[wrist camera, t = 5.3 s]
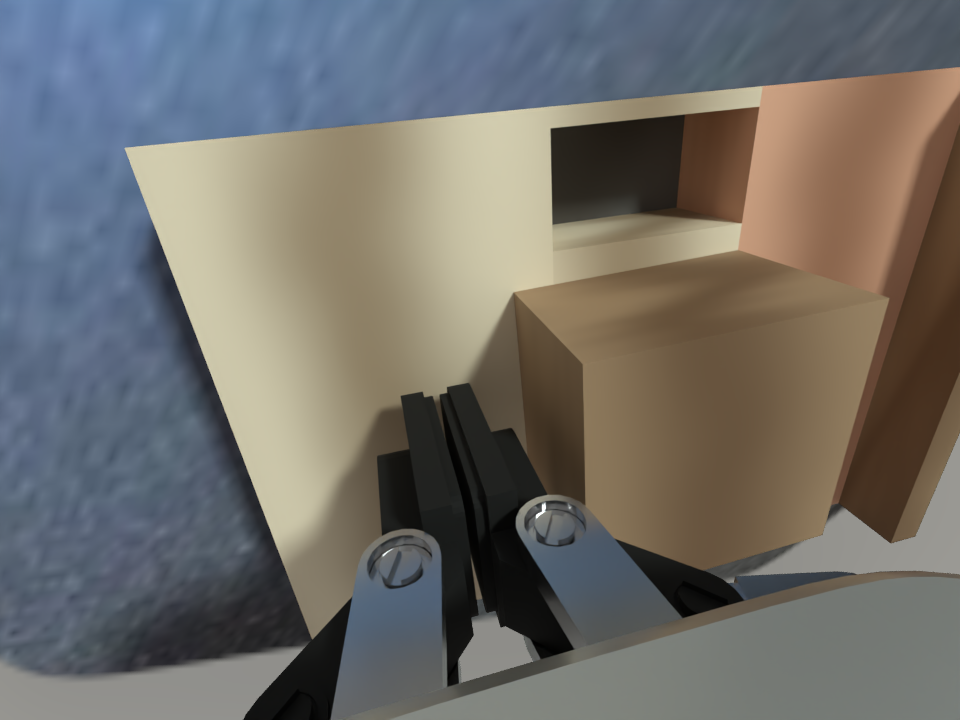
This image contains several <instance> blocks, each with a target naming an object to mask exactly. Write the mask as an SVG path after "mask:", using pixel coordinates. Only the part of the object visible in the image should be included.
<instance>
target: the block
mask: <svg viewBox="0 0 960 720" xmlns="http://www.w3.org/2000/svg"><path fill="white" fill-rule="evenodd" d="M513 293H514V304H515V316H516V327H517V339H518V351H519V362H520V374H521V385H522V397H523V408H524V420H525V432H526V443H527V455H528V458H529V460H530V462H531V464H532V466H533V468H534V470H535V471H536V473H537V475H538V477H539V479H540V481H541V483H542V485H543V487H544V489H545V490H546V492H547V494H548V495H562V496H567V497H571V498H573V499H575V500H577V501H579V502H581V503H582V504H583V505H585V506H586V507H587V508H588V509H589V510H590V511H591V512H592V513H593V515H594V516H595V517H596V518H597V519H598V520H599V522H600V523H601V524H602V525H603V526H604V527H605V529H606V530H607V531H608V532H609V533H610V534H611V535H612V537H613V538H614V539H617V540H620V541H623V542H625V543H628V544H631V545H634V546H636V547H639V548H642V549H645V550H648V551H650V552H653V553H656V554H659V555H661V556H664V557H667V558H670V559H672V560H675V561H678V562H681V563H683V564H686V565H689V566H692V567H694V568H697V569H700V570H706V569H709V568H712V567H716V566H719V565H723V564H726V563H729V562H733V561H736V560H739V559H743V558H746V557H750V556H753V555H756V554H760V553H763V552H766V551H770V550H773V549H777V548H780V547H783V546H787V545H790V544H793V543H797V542H800V541H804V540H807V539H810V538H814V537H817V536H820V535H822V534H823V531H824V527H825V524H826V520H827V517H828V513H829V510H830V506H831V503H832V499H833V496H834V492H835V489H836V485H837V481H838V478H839V474H840V471H841V467H842V464H843V460H844V457H845V453H846V450H847V446H848V443H849V439H850V436H851V432H852V429H853V425H854V422H855V418H856V414H857V411H858V407H859V404H860V400H861V397H862V393H863V390H864V386H865V383H866V379H867V376H868V372H869V369H870V365H871V362H872V358H873V355H874V351H875V347H876V344H877V340H878V337H879V333H880V330H881V326H882V323H883V319H884V316H885V312H886V309H887V305H888V302H889V298H888V297H885V296H882V295H879V294H875V293H872V292H869V291H866V290H863V289H860V288H856V287H853V286H850V285H847V284H844V283H841V282H837V281H834V280H831V279H828V278H825V277H822V276H819V275H815V274H812V273H809V272H806V271H803V270H800V269H796V268H793V267H790V266H787V265H784V264H781V263H777V262H774V261H771V260H768V259H765V258H762V257H759V256H755V255H752V254H749V253H746V252H743V251H740V250H736V251H730V252H725V253H720V254H714V255H709V256H704V257H698V258H693V259H688V260H682V261H677V262H672V263H666V264H661V265H656V266H650V267H645V268H640V269H634V270H629V271H624V272H618V273H613V274H608V275H602V276H597V277H592V278H586V279H581V280H576V281H570V282H565V283H560V284H554V285H549V286H544V287H538V288H533V289H528V290H522V291H517V292H513Z"/></svg>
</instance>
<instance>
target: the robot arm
mask: <svg viewBox="0 0 960 720" xmlns="http://www.w3.org/2000/svg"><path fill="white" fill-rule="evenodd" d="M400 397H401V403H402V408H403V414H404V420H405V426H406V432H407V438H408V444H409V449H407V450H402V451H397V452H392V453H387V454H383V455H378V456H377V469H378V484H379V499H380V515H381V530H382V536H381V537H379V538H378V539H376V540H375V541H374V542H373V543H371V544H370V545H369V546H368V547H367V549H366V550H365V551H364V553H363V554H362V556H361V559H360V561H359V564H358V568H357V574H356V579H355V585H354V591H353V596H352V597H351V598H350V599H349V600H348V602H347V603H346V604H345V605H344V606H343V607H342V608H341V609H340V610H339V611H338V612H337V613H336V615H335V616H334V617H333V618H332V619H331V620H330V621H329V622H328V623H327V624H326V625H325V626H324V628H323V629H322V630H321V631H320V632H319V633H318V634H317V635H316V636H315V637H314V638H313V640H312V641H311V642H310V643H309V644H308V645H307V646H306V647H305V648H304V649H303V650H302V651H301V653H300V654H299V655H298V656H297V657H296V658H295V659H294V660H293V661H292V662H291V663H290V665H289V666H288V667H287V668H286V669H285V670H284V671H283V672H282V673H281V674H280V675H279V676H278V678H277V679H276V680H275V681H274V682H273V683H272V684H271V685H270V686H269V687H268V688H267V690H265V692H264V693H263V694H262V695H261V696H260V697H259V698H258V699H257V701H256V702H255V703H254V705H253V706H252V707H251V709H250V710H249V711H248V712H247V714H246V715H245V718H244V720H960V575H959V574H949V573H935V572H923V571H890V572H875V573H867V574H859V575H857V574H854V573H847V572H817V573H795V574H774V575H752V576H735V580H734V583H727V582H725V581H724V580H723V579H721V578H719V577H717V576H715V575H713V574H711V573H708V572H706V571H703V570H700V569H697V568H694V567H692V566H689V565H686V564H683V563H681V562H678V561H675V560H672V559H670V558H667V557H664V556H661V555H659V554H656V553H653V552H650V551H648V550H645V549H642V548H639V547H636V546H634V545H631V544H628V543H625V542H623V541H620V540H617V539H614V538H613V537H612V535H611V534H610V533H609V532H608V531H607V530H606V529H605V527H604V526H603V525H602V524H601V523H600V522H599V520H598V519H597V518H596V517H595V516H594V515H593V513H592V512H591V511H590V510H589V509H588V508H587V507H586V506H585V505H583V504H582V503H581V502H579V501H577V500H575V499H573V498H571V497H567V496H562V495H548V494H547V492H546V490H545V489H544V487H543V485H542V483H541V481H540V479H539V477H538V475H537V473H536V471H535V470H534V468H533V466H532V464H531V462H530V460H529V458H528V456H527V454H526V452H525V451H524V449H523V447H522V445H521V443H520V441H519V439H518V437H517V435H516V433H515V432H514V430H513V429H512V428H507V429H502V430H498V431H493V432H491V430H490V428H489V425H488V423H487V421H486V419H485V417H484V414H483V412H482V410H481V408H480V405H479V403H478V401H477V399H476V397H475V394H474V392H473V390H472V388H471V385H470V384H469V383H465V384H460V385H454V386H449V387H447V393H444V394H439V397H440V404H441V411H442V418H443V425H444V432H445V437H444V433H443V430H442V426H441V423H440V419H439V416H438V412H437V409H436V405H435V402H434V399H433V396H428V397H424V394H423V392H417V393H412V394H407V395H402V396H400ZM445 439H446V440H445ZM471 558H472V562H473V566H474V570H475V573H476V577H477V581H478V584H479V588H480V592H481V595H482V599H483V603H484V607H485V610H486V612H487V613H489V612H492V611H496V613H497V617H498V620H499V623H500V627H504V626H506V627H508V628H510V629H512V630H514V631H516V632H518V633H520V634H522V635H524V641H525V644H526V647H527V650H528V652H529V654H530V656H531V658H532V660H533V662H531V663H527V664H524V665H521V666H517V667H514V668H510V669H507V670H504V671H500V672H497V673H493V674H490V675H487V676H483V677H480V678H476V679H473V680H470V681H466V682H463V683H461V667H460V661H459V657H460V656H461V654H462V653H463V651H464V650H465V648H466V647H467V645H468V643H469V642H470V640H471V639H472V637H473V635H474V634H473V628H472V621H471V617H474V616H478V615H479V614H478V606H477V599H476V591H475V584H474V576H473V569H472V562H471Z"/></svg>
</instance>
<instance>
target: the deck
mask: <svg viewBox="0 0 960 720" xmlns="http://www.w3.org/2000/svg"><path fill="white" fill-rule="evenodd" d="M125 150H126V153H127V156H128V158H129V161H130V163H131V166H132V169H133V171H134V174H135V177H136V179H137V182H138V184H139V187H140V190H141V192H142V195H143V198H144V200H145V203H146V205H147V208H148V211H149V213H150V216H151V218H152V221H153V224H154V226H155V229H156V232H157V234H158V237H159V239H160V242H161V245H162V247H163V250H164V253H165V255H166V258H167V260H168V263H169V266H170V268H171V271H172V274H173V276H174V279H175V281H176V284H177V287H178V289H179V292H180V295H181V297H182V300H183V302H184V305H185V308H186V310H187V313H188V315H189V318H190V321H191V323H192V326H193V329H194V331H195V334H196V336H197V339H198V342H199V344H200V347H201V350H202V352H203V355H204V357H205V360H206V363H207V365H208V368H209V371H210V373H211V376H212V378H213V381H214V384H215V386H216V389H217V391H218V394H219V397H220V399H221V402H222V405H223V407H224V410H225V412H226V415H227V418H228V420H229V423H230V426H231V428H232V431H233V433H234V436H235V439H236V441H237V444H238V447H239V449H240V452H241V454H242V457H243V460H244V462H245V465H246V467H247V470H248V473H249V475H250V478H251V481H252V483H253V486H254V488H255V491H256V494H257V496H258V499H259V502H260V504H261V507H262V509H263V512H264V515H265V517H266V520H267V523H268V525H269V528H270V530H271V533H272V536H273V538H274V541H275V544H276V546H277V549H278V551H279V554H280V557H281V559H282V562H283V564H284V567H285V570H286V572H287V575H288V578H289V580H290V583H291V585H292V588H293V591H294V593H295V596H296V599H297V601H298V604H299V606H300V609H301V612H302V614H303V617H304V620H305V622H306V625H307V627H308V630H309V633H310V635H311V638H312V640H313V638H314V637H315V636H316V635H317V634H318V633H319V632H320V631H321V630H322V629H323V628H324V626H325V625H326V624H327V623H328V622H329V621H330V620H331V619H332V618H333V617H334V616H335V615H336V613H337V612H338V611H339V610H340V609H341V608H342V607H343V606H344V605H345V604H346V603H347V602H348V600H349V599H350V598H351V597H352V596H353V591H354V585H355V579H356V574H357V568H358V564H359V561H360V559H361V556H362V554H363V553H364V551H365V550H366V549H367V547H368V546H369V545H370V544H371V543H373V542H374V541H375V540H376V539H378V538H379V537H381V536H382V530H381V515H380V499H379V484H378V469H377V456H378V455H383V454H387V453H392V452H397V451H402V450H407V449H409V444H408V438H407V432H406V426H405V420H404V414H403V408H402V403H401V397H400V396H402V395H407V394H412V393H417V392H423V394H424V397H428V396H433V399H434V402H435V405H436V409H437V412H438V416H439V419H440V423H441V426H442V430H443V433H444V437H445V432H444V425H443V418H442V411H441V404H440V397H439V394H444V393H447V387H449V386H454V385H460V384H465V383H469V384H470V385H471V388H472V390H473V392H474V394H475V397H476V399H477V401H478V403H479V405H480V408H481V410H482V412H483V414H484V417H485V419H486V421H487V423H488V425H489V428H490V430H491V432H493V431H498V430H502V429H507V428H512V429H513V430H514V432H515V433H516V435H517V437H518V439H519V441H520V443H521V445H522V447H523V449H524V451H525V452H526V454H527V443H526V432H525V420H524V408H523V397H522V385H521V374H520V362H519V351H518V339H517V327H516V316H515V304H514V293H513V292H517V291H522V290H528V289H533V288H538V287H544V286H549V285H554V284H560V283H565V282H570V281H576V280H581V279H586V278H592V277H597V276H602V275H608V274H613V273H618V272H624V271H629V270H634V269H640V268H645V267H650V266H656V265H661V264H666V263H672V262H677V261H682V260H688V259H693V258H698V257H704V256H709V255H714V254H720V253H725V252H730V251H736V250H740V251H743V252H746V253H749V254H752V255H755V256H759V257H762V258H765V259H768V260H771V261H774V262H777V263H781V264H784V265H787V266H790V267H793V268H796V269H800V270H803V271H806V272H809V273H812V274H815V275H819V276H822V277H825V278H828V279H831V280H834V281H837V282H841V283H844V284H847V285H850V286H853V287H856V288H860V289H863V290H866V291H869V292H872V293H875V294H879V295H882V296H885V297H888V298H889V302H888V305H887V309H886V312H885V316H884V319H883V323H882V326H881V330H880V333H879V337H878V340H877V344H876V347H875V351H874V355H873V358H872V362H871V365H870V369H869V372H868V376H867V379H866V383H865V386H864V390H863V393H862V397H861V400H860V404H859V407H858V411H857V414H856V418H855V422H854V425H853V429H852V432H851V436H850V439H849V443H848V446H847V450H846V453H845V457H844V460H843V464H842V467H841V471H840V474H839V478H838V481H837V485H836V489H835V492H834V496H833V499H832V503H831V505H833V504H837V503H839V504H840V505H842V506H843V507H844V508H846V509H847V510H848V511H849V512H851V513H852V514H853V515H855V516H856V517H857V518H858V519H860V520H861V521H863V522H864V523H865V524H866V525H868V526H869V527H870V528H871V529H873V530H874V531H875V532H877V533H878V534H879V535H881V536H882V537H883V538H884V539H886V540H887V541H888V542H890V543H894V542H897V541H900V540H904V539H908V538H911V537H915V535H916V533H917V531H918V529H919V526H920V524H921V522H922V519H923V517H924V515H925V512H926V510H927V507H928V505H929V503H930V500H931V498H932V496H933V494H934V491H935V489H936V487H937V484H938V482H939V480H940V477H941V475H942V473H943V471H944V468H945V466H946V464H947V461H948V459H949V457H950V454H951V452H952V450H953V447H954V445H955V443H956V440H957V438H958V436H959V433H960V67H958V68H947V69H937V70H927V71H916V72H906V73H895V74H885V75H875V76H864V77H854V78H844V79H833V80H823V81H813V82H802V83H792V84H781V85H771V86H761V87H750V88H740V89H730V90H719V91H709V92H699V93H688V94H678V95H668V96H657V97H647V98H636V99H626V100H616V101H605V102H595V103H585V104H574V105H564V106H554V107H543V108H533V109H522V110H512V111H502V112H491V113H481V114H471V115H460V116H450V117H440V118H429V119H419V120H409V121H398V122H388V123H377V124H367V125H357V126H346V127H336V128H326V129H315V130H305V131H295V132H284V133H274V134H263V135H253V136H243V137H232V138H222V139H212V140H201V141H191V142H181V143H170V144H160V145H149V146H139V147H129V148H125ZM445 440H446V439H445ZM527 456H528V455H527ZM471 562H472V558H471ZM472 569H473V576H474V584H475V591H476V599H477V600H478V599H482V595H481V592H480V588H479V584H478V581H477V577H476V573H475V570H474V566H473V562H472Z"/></svg>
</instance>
